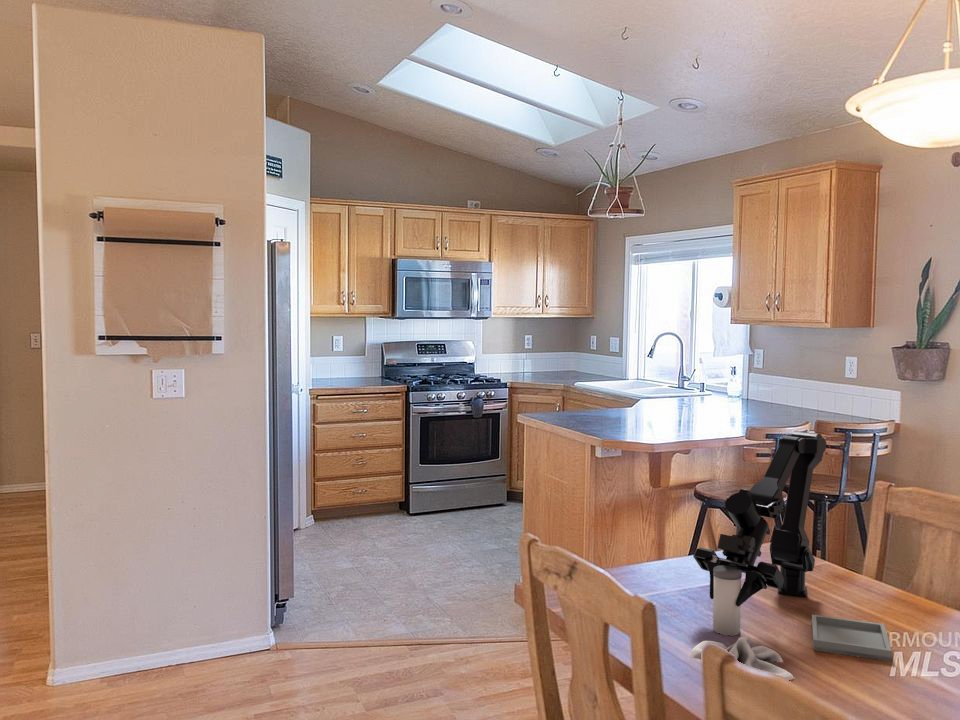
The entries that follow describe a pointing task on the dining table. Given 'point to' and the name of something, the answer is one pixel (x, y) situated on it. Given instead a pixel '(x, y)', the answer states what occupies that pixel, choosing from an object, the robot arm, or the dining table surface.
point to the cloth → (749, 655)
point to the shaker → (726, 600)
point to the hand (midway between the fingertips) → (723, 601)
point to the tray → (851, 637)
